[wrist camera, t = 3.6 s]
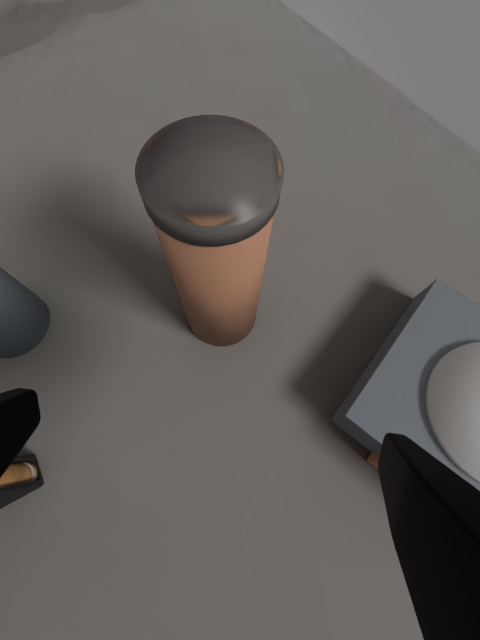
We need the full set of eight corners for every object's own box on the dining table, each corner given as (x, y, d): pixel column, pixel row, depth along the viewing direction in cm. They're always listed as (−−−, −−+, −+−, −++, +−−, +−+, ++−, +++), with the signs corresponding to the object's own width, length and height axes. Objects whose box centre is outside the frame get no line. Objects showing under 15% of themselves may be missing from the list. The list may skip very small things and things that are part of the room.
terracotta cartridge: (195, 355, 22) (149, 243, 10) (179, 291, 24) (124, 128, 12) (265, 337, 23) (304, 210, 10) (245, 275, 24) (259, 104, 12)
